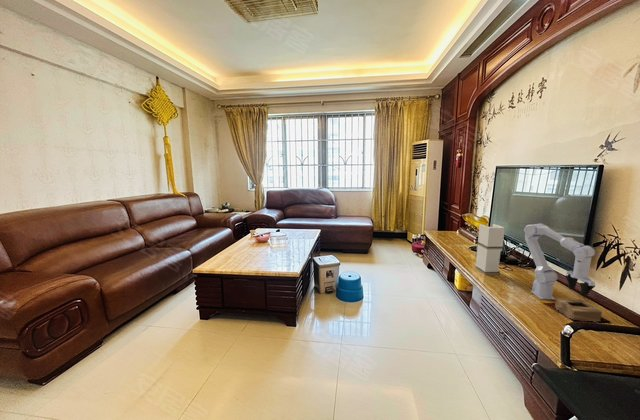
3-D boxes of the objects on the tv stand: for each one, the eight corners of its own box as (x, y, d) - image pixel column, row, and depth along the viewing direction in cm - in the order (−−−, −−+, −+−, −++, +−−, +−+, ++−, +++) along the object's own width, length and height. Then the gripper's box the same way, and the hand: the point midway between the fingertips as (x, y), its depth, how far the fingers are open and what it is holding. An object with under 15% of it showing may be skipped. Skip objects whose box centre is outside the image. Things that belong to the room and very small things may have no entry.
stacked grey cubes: (499, 274, 182) (504, 227, 176) (484, 274, 182) (489, 227, 176) (489, 268, 193) (494, 223, 187) (475, 268, 193) (479, 224, 187)
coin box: (554, 307, 139) (556, 297, 138) (579, 309, 137) (580, 299, 136) (572, 320, 127) (574, 310, 126) (599, 322, 126) (601, 311, 125)
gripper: (562, 263, 140) (558, 285, 143) (585, 273, 126) (581, 298, 128) (576, 263, 139) (572, 286, 142) (601, 274, 125) (596, 299, 127)
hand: (577, 292), depth 135 cm, fingers open, 7 cm apart
